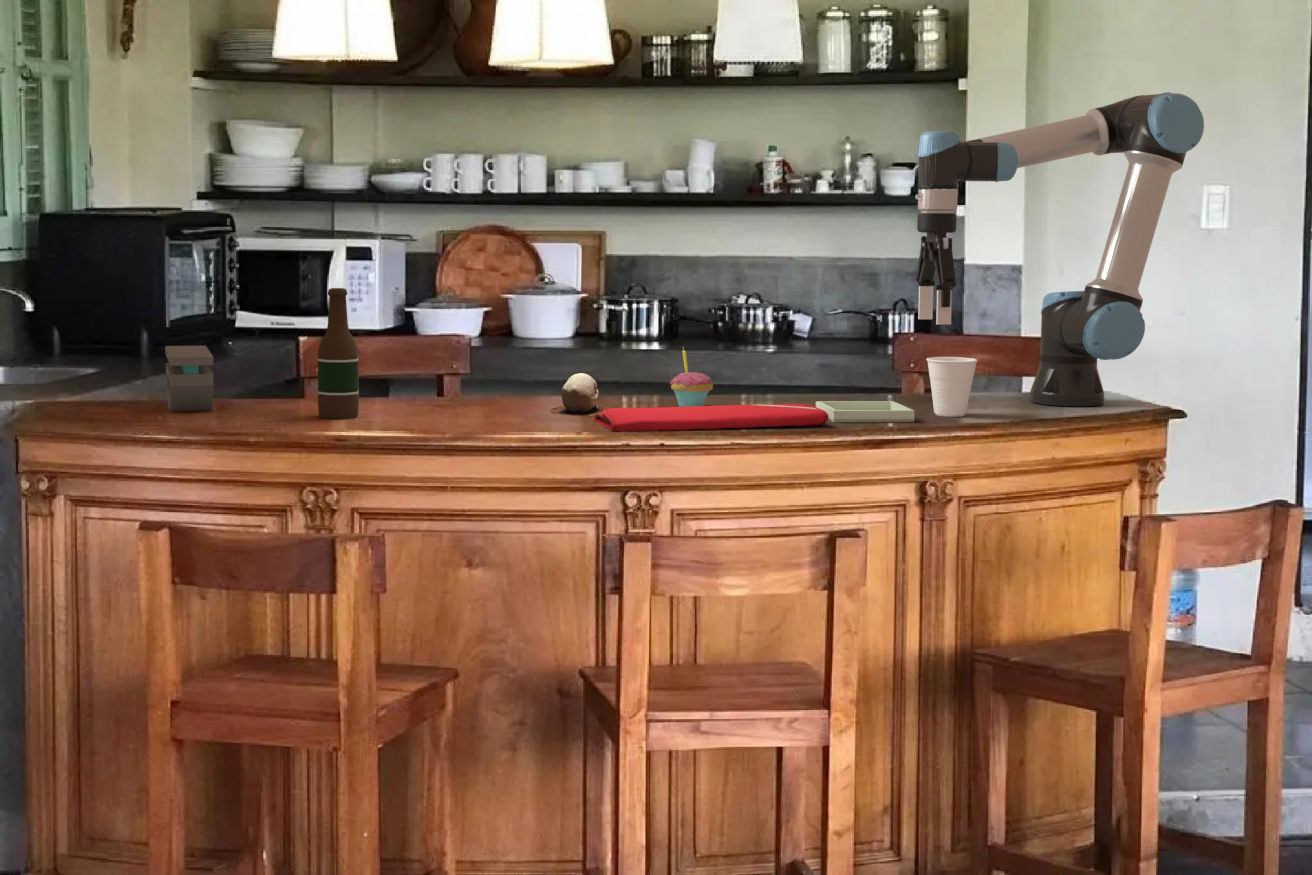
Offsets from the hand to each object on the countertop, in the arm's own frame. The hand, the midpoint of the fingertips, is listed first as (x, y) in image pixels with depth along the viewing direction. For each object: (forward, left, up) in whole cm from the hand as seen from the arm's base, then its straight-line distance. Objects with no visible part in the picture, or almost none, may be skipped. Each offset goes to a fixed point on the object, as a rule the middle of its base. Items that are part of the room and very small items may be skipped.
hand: (934, 322), depth 363 cm
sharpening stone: (+144, -15, -18) cm, 145 cm away
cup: (-3, +1, -18) cm, 19 cm away
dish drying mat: (+46, +14, -19) cm, 52 cm away
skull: (+68, -6, -19) cm, 71 cm away
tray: (+15, +4, -18) cm, 24 cm away
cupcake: (+46, -13, -18) cm, 51 cm away
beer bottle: (+115, +1, -18) cm, 116 cm away
